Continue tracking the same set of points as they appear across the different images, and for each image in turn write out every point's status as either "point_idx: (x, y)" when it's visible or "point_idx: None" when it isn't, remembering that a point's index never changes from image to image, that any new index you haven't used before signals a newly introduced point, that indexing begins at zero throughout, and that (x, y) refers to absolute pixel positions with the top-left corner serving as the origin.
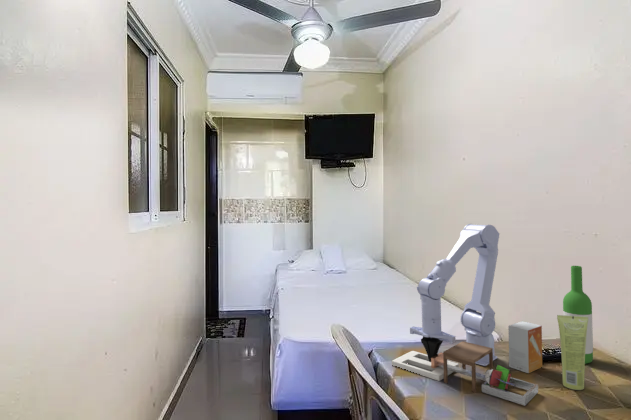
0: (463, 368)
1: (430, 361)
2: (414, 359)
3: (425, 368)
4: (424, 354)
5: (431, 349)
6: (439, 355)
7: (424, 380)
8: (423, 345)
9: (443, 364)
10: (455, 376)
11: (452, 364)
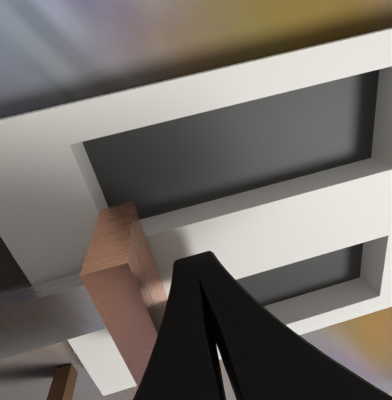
0: (60, 381)
1: (195, 257)
2: (351, 209)
3: (220, 198)
4: (343, 315)
5: (176, 394)
6: (131, 371)
7: (42, 6)
8: (361, 379)
9: (89, 309)
10: (8, 287)
11: (112, 363)
